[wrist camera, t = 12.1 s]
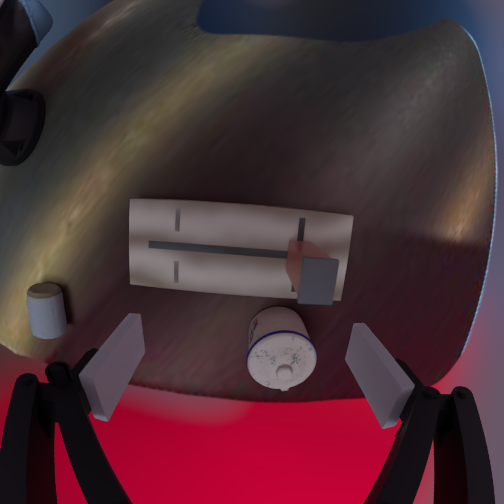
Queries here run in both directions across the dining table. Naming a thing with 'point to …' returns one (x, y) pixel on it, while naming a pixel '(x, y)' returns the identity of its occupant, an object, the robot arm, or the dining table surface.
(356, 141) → the dining table surface
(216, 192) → the dining table surface
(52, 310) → the ceramic mug
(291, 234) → the panel
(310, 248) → the fader tab
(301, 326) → the teacup with lid
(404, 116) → the dining table surface
